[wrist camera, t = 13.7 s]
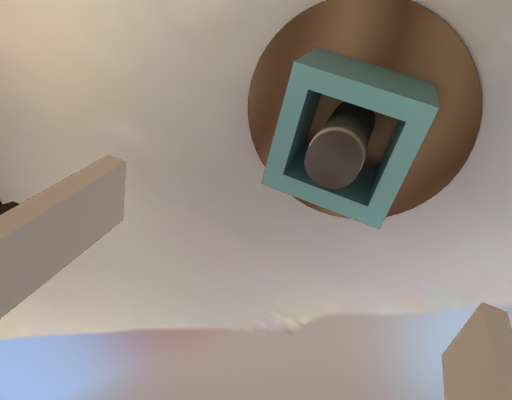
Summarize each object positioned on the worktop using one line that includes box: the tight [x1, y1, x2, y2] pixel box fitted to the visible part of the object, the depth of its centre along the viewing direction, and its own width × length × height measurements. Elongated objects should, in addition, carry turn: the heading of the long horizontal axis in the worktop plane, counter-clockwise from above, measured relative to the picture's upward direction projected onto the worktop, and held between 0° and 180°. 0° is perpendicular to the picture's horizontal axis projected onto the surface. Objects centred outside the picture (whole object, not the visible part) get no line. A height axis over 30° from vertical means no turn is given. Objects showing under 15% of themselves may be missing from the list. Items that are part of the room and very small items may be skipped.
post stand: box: [248, 0, 482, 218], centre depth 25 cm, size 16×16×9 cm
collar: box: [261, 47, 439, 229], centre depth 26 cm, size 8×8×6 cm
